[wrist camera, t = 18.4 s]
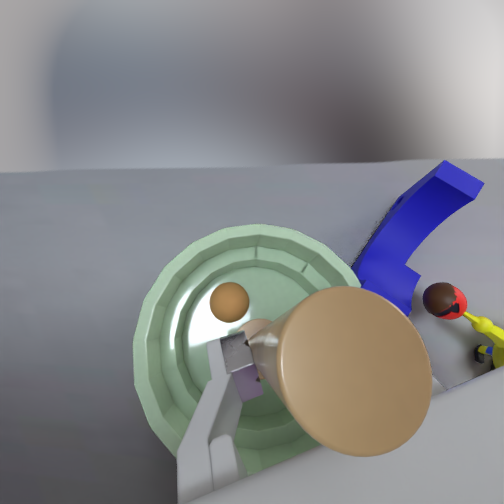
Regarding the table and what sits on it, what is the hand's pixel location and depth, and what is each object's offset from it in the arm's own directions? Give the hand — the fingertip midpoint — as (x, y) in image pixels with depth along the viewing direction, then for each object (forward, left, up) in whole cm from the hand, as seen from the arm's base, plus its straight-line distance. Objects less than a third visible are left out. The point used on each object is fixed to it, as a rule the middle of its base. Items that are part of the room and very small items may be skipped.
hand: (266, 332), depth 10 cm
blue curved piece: (+13, +3, -11) cm, 17 cm away
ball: (-1, +2, -9) cm, 10 cm away
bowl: (0, -1, -11) cm, 11 cm away
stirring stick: (0, -1, -8) cm, 8 cm away
